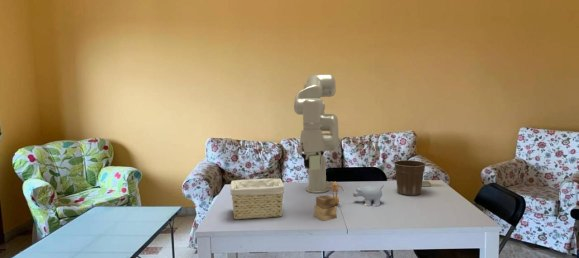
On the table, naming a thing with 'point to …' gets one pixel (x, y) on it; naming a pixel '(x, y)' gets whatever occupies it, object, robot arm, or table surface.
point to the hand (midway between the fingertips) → (312, 166)
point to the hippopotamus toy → (369, 194)
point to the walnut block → (325, 202)
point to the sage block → (314, 162)
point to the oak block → (325, 213)
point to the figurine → (336, 191)
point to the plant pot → (409, 176)
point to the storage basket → (257, 198)
